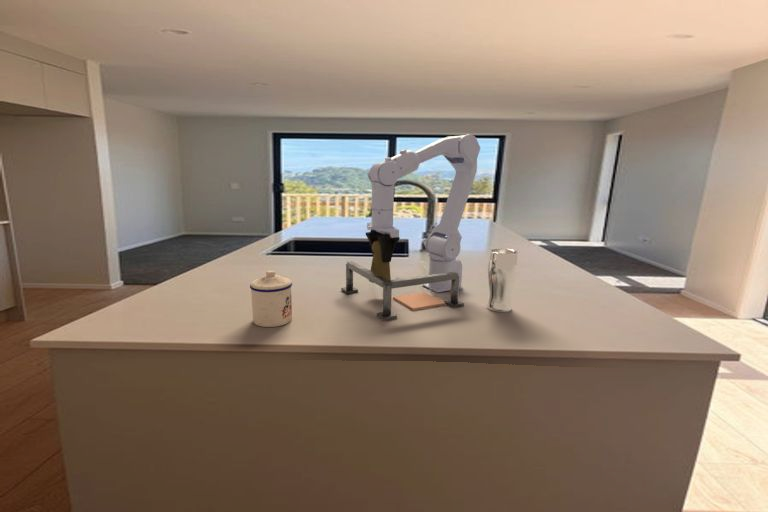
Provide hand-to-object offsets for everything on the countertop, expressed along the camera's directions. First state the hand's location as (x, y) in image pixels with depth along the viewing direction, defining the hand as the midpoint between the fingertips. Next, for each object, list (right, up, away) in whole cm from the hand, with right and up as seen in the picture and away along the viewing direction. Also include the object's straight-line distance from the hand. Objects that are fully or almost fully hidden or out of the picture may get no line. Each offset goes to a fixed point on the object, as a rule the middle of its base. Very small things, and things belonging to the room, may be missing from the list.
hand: (381, 259), depth 106 cm
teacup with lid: (-25, -14, -14) cm, 32 cm away
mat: (+10, -11, -1) cm, 15 cm away
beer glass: (+30, -13, -5) cm, 33 cm away
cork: (-1, -6, +1) cm, 6 cm away
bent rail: (+5, -10, +1) cm, 12 cm away
